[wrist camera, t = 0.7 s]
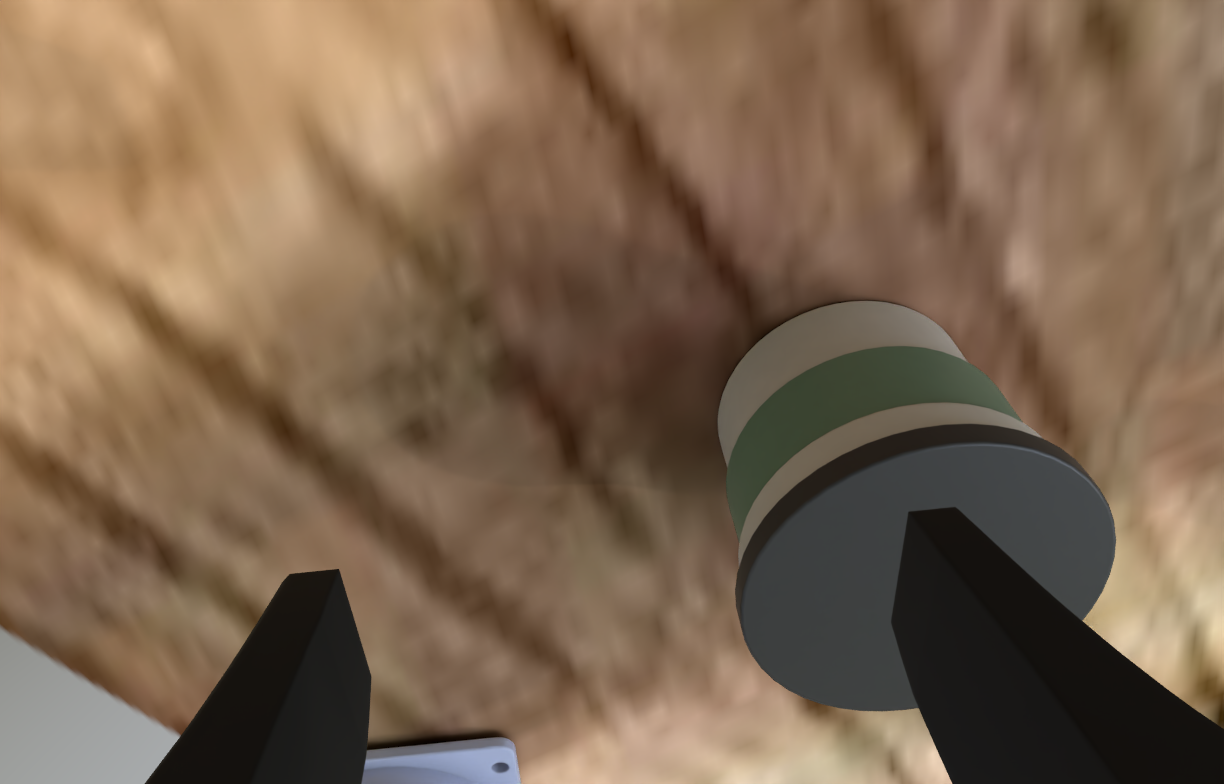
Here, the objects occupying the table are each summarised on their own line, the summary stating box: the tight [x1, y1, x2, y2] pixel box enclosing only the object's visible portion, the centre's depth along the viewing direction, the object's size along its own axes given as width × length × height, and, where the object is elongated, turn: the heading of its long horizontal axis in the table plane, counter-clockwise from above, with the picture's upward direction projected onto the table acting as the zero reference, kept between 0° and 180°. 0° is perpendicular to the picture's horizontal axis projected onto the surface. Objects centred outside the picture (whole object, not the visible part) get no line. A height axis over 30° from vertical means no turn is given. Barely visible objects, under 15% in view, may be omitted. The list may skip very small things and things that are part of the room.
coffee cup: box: [718, 301, 1116, 711], centre depth 21 cm, size 7×7×6 cm
